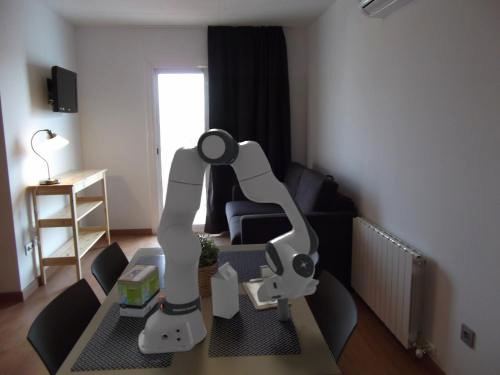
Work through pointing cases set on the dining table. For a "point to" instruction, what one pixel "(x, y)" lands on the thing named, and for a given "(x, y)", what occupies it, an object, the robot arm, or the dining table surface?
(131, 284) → the tea box
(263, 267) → the picture frame
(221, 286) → the milk carton
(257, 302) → the clipboard
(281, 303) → the microphone
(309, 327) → the dining table surface
